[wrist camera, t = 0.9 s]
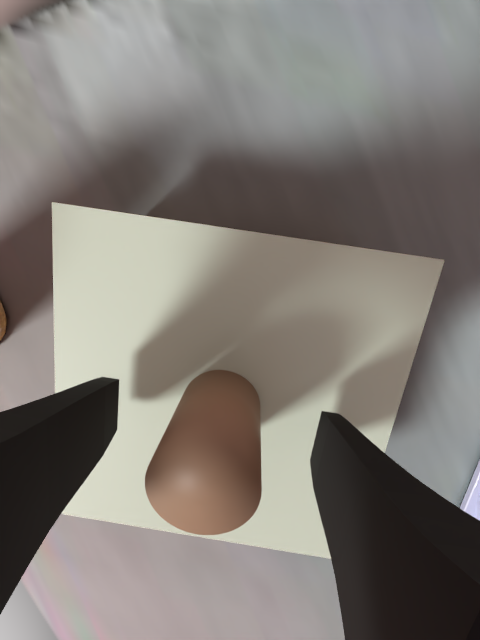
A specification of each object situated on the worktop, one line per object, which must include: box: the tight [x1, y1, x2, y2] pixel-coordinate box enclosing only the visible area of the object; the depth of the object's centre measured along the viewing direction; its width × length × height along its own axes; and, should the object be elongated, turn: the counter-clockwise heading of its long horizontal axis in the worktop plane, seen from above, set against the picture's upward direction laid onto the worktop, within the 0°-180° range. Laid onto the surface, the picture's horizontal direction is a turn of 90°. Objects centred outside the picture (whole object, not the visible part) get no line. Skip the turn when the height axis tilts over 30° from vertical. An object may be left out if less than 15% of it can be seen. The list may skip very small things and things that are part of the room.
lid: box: [52, 202, 445, 559], centre depth 10 cm, size 13×13×5 cm
